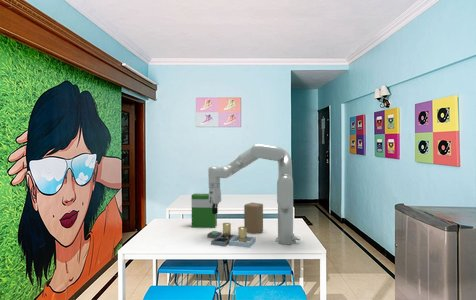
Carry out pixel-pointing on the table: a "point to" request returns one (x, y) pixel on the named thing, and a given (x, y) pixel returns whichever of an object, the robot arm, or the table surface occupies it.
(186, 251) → the table surface
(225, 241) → the metal compartment tray
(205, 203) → the hardback book
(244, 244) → the tray
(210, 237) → the grey button housing
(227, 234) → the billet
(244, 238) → the billet
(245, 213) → the wooden block
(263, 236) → the table surface
